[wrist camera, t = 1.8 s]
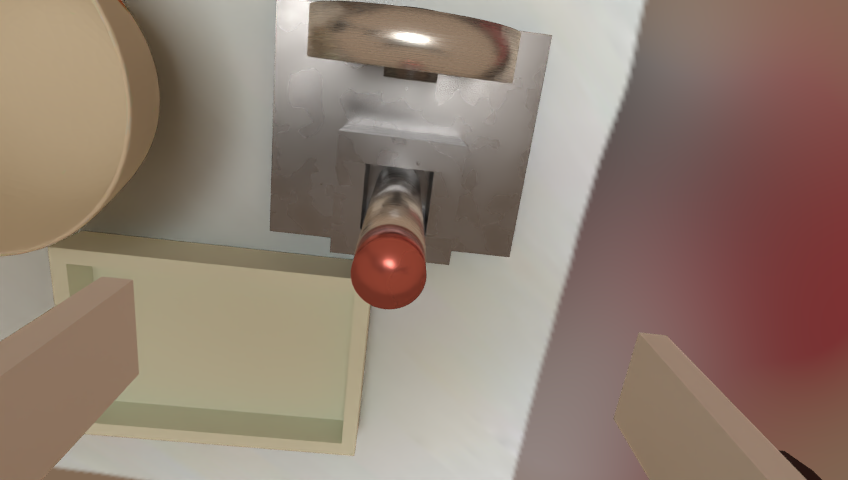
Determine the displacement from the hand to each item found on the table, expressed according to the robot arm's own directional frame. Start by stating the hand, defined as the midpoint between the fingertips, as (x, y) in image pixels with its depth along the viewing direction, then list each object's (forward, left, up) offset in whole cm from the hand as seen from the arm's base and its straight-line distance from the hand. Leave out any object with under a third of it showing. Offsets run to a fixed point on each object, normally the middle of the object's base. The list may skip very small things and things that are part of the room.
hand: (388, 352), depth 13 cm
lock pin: (0, 0, -20) cm, 20 cm away
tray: (-11, -13, -21) cm, 27 cm away
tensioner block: (0, +3, -21) cm, 21 cm away
